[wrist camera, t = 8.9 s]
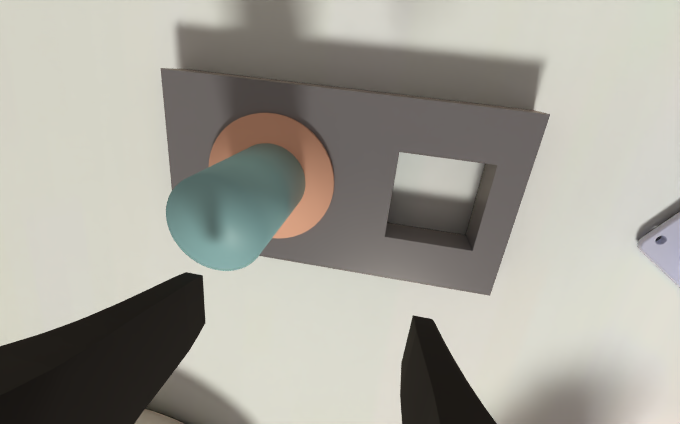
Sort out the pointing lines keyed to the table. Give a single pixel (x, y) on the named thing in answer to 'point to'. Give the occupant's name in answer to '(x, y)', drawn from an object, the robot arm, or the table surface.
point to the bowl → (155, 418)
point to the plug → (235, 206)
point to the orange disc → (297, 143)
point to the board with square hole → (371, 169)
